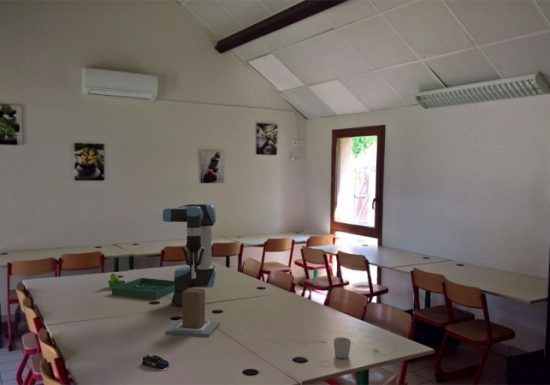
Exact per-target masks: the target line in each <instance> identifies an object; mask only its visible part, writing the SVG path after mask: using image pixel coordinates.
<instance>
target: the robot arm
mask: <svg viewBox="0 0 550 385" xmlns="http://www.w3.org/2000/svg"><path fill="white" fill-rule="evenodd" d="M215 208H216V207H215V206H214V205H213V204H208V203H206V204H205V203H202V204H201V203H200V204H199V203H197V204H196V203H194V204H193V203H192V204H189V203H188V204H184V205H181V206H178V207H176V208H175V207H174V208H170V207H169V208H164V209H163V211H162V221H163V222H165V223H166V222H167V223H186V244H185V246H183V247H182V248H181V250H182V252H183V255H184V258H185V259H184V260H185V262H186V263H185V264H186V265H187V266H183V267H179V268H176V269H175V270H174V276H173V281H174V292H173V296H172V298H171V305H172V306H174V307H182V293H183V291H185V290H186V289H188V288H200V289H205V288H206V289H208V288H213V287H214V286H215V283H216V277H217V269H215V267H214V265H213V264H212V263H213V262H212V228H213V227H214V226H215V223H217V213H216V209H215ZM188 251H189V252H188Z"/></svg>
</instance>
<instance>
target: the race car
mask: <svg viewBox="0 0 550 385" xmlns="http://www.w3.org/2000/svg"><path fill="white" fill-rule="evenodd" d="M141 364H142V365H143V366H145V365H146V366H145V367H152V368H155V369H157V370H158V369H164V368H166V367H170V364H169V361H168V360H166V359H164V358H162V357H160V355H154V354H153V355H150V354H146V355H144V356H142V361H141Z"/></svg>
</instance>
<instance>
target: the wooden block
mask: <svg viewBox="0 0 550 385" xmlns="http://www.w3.org/2000/svg"><path fill="white" fill-rule="evenodd" d="M181 307H182V308H181V313H182V314H181V316H182V317H181V320H182V327H183V328H192V329H199V328H200V327H202V326H203V325H204V323H205V321H206V320H205V319H206V318H205V317H206V290H205V288H188V289H186V290H185V291H183V293H182V306H181Z"/></svg>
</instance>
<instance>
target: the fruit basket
mask: <svg viewBox="0 0 550 385" xmlns="http://www.w3.org/2000/svg"><path fill="white" fill-rule="evenodd" d="M109 278H110V280H107V284H108V285H109V288H110V287H111V288H110V289H112V287H115V286H118V285H121V284H124V283H126V280H122V279H119V276H118V275H116V274H115V273H111V274H110V276H109Z"/></svg>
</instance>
